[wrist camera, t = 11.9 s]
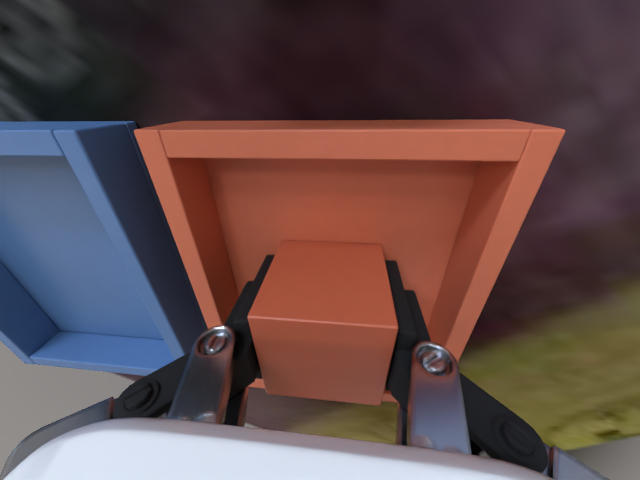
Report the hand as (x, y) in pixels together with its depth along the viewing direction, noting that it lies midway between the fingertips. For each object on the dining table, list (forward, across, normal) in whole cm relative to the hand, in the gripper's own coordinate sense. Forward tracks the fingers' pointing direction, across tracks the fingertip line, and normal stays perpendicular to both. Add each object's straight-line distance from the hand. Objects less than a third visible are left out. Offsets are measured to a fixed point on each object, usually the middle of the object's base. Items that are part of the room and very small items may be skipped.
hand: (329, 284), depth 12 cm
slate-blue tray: (+1, +13, 0) cm, 13 cm away
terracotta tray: (+1, 0, 0) cm, 1 cm away
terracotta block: (0, 0, 0) cm, 0 cm away
